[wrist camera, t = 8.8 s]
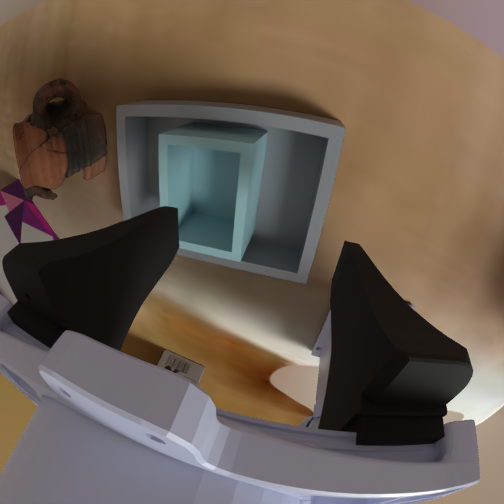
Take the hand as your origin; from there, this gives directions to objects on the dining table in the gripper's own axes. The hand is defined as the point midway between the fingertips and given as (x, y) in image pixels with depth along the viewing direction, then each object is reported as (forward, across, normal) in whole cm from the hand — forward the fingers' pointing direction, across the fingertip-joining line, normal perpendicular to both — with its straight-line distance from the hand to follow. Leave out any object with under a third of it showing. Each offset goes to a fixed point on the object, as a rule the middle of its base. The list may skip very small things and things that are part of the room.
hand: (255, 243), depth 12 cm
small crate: (+9, +4, +1) cm, 10 cm away
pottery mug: (+10, +20, -2) cm, 22 cm away
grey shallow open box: (+9, +4, +1) cm, 10 cm away
